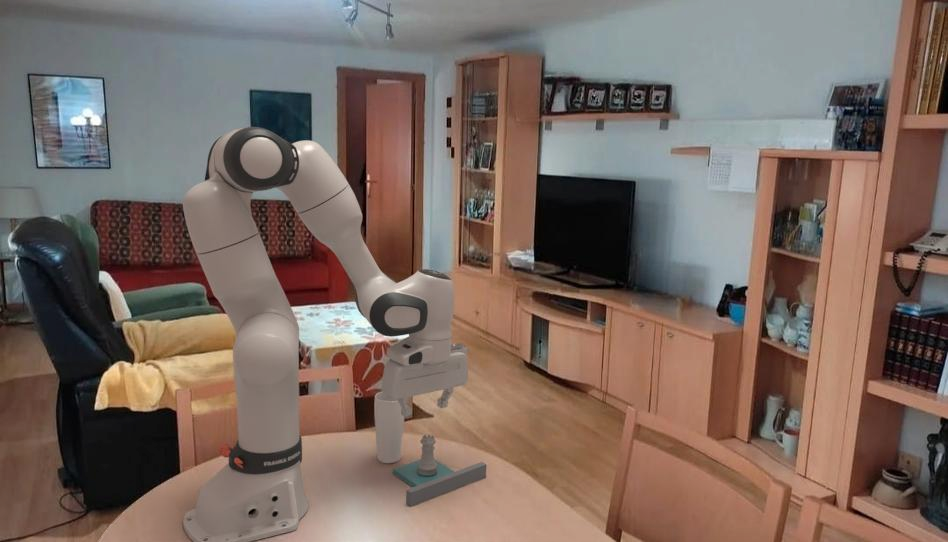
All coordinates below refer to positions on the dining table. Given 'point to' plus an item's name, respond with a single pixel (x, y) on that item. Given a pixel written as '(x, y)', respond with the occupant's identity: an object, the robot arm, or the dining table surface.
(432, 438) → the rook chess piece
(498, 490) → the dining table surface
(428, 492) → the low wall
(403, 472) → the coaster
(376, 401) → the drinking glass
